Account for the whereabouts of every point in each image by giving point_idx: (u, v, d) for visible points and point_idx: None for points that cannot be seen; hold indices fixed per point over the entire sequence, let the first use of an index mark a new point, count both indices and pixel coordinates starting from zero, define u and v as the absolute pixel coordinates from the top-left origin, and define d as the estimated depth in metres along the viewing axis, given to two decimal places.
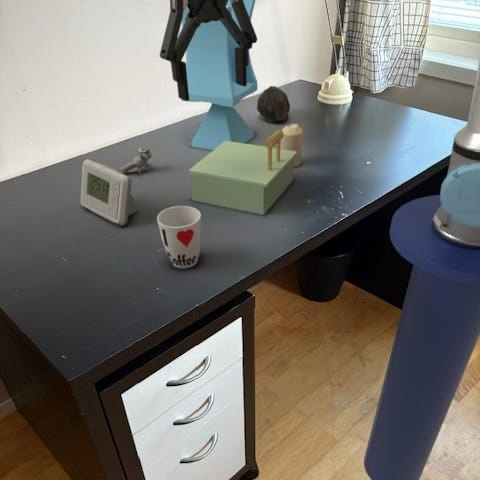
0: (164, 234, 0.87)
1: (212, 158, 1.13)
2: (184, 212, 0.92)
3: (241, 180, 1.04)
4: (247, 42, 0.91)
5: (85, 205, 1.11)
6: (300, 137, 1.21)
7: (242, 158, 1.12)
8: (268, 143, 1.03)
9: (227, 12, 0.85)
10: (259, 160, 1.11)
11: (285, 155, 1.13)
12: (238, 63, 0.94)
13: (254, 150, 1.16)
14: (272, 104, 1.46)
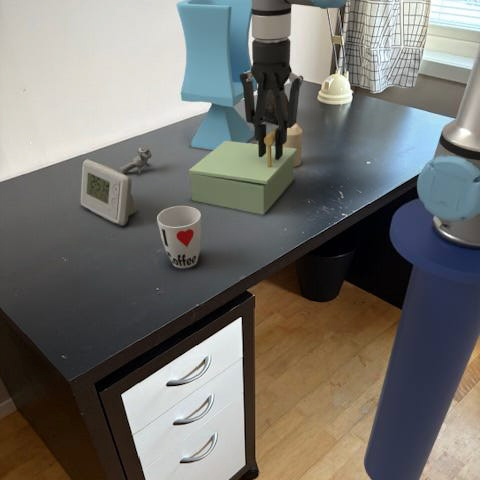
0: (164, 234, 0.87)
1: (212, 158, 1.13)
2: (184, 212, 0.92)
3: (241, 178, 1.04)
4: (282, 125, 1.01)
5: (85, 205, 1.11)
6: (300, 137, 1.21)
7: (242, 157, 1.12)
8: (267, 140, 1.03)
9: (276, 90, 0.96)
10: (259, 158, 1.11)
11: (285, 153, 1.12)
12: None
13: (254, 149, 1.15)
14: (272, 104, 1.46)
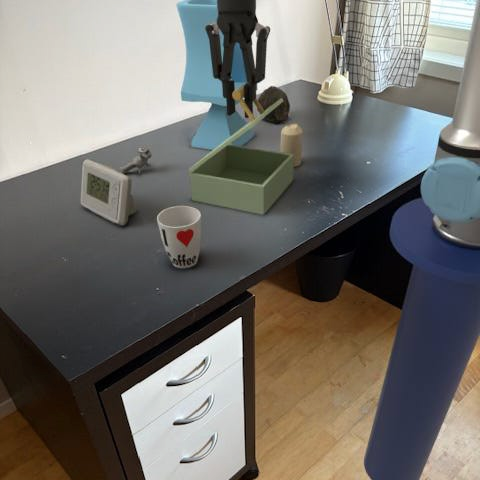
0: (164, 233, 0.87)
1: None
2: (184, 212, 0.92)
3: (227, 141, 1.00)
4: (250, 80, 0.98)
5: (85, 205, 1.11)
6: (300, 137, 1.21)
7: None
8: (235, 95, 0.99)
9: (242, 41, 0.93)
10: (247, 124, 1.07)
11: (270, 106, 1.07)
12: None
13: None
14: (272, 104, 1.46)
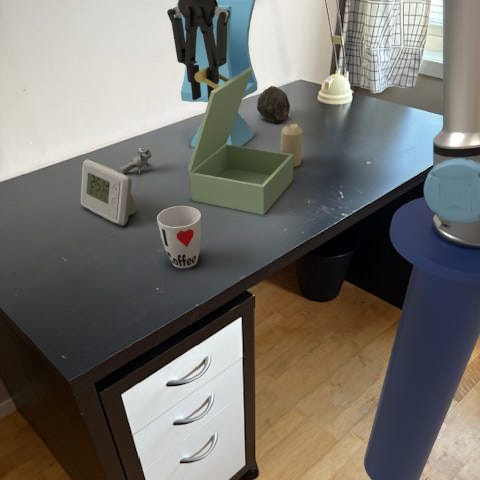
0: (164, 234, 0.87)
1: None
2: (184, 212, 0.92)
3: (204, 119, 0.99)
4: (212, 64, 0.99)
5: (85, 205, 1.11)
6: (300, 137, 1.21)
7: None
8: (197, 77, 1.01)
9: (203, 25, 0.95)
10: None
11: None
12: None
13: None
14: (272, 104, 1.46)
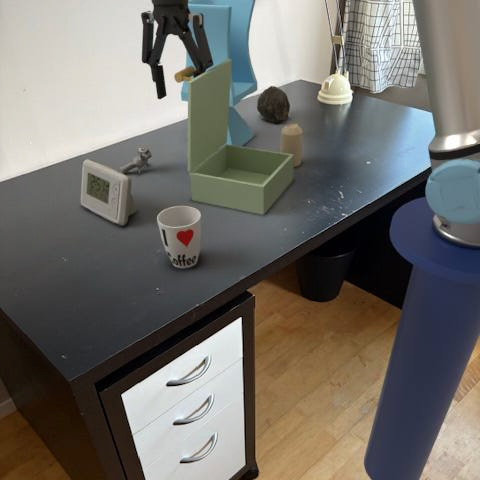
0: (164, 234, 0.87)
1: None
2: (184, 212, 0.92)
3: (188, 112, 1.00)
4: (198, 66, 1.01)
5: (85, 205, 1.11)
6: (300, 137, 1.21)
7: None
8: (177, 78, 1.03)
9: (180, 31, 0.98)
10: None
11: None
12: None
13: None
14: (272, 104, 1.46)
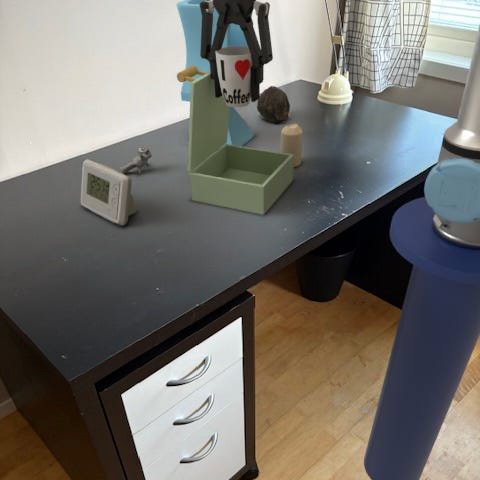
0: (222, 65, 0.94)
1: None
2: (238, 53, 0.98)
3: (190, 113, 0.99)
4: (257, 61, 0.93)
5: (85, 205, 1.11)
6: (300, 137, 1.21)
7: None
8: (179, 77, 1.02)
9: (242, 21, 0.89)
10: None
11: None
12: None
13: None
14: (272, 104, 1.46)
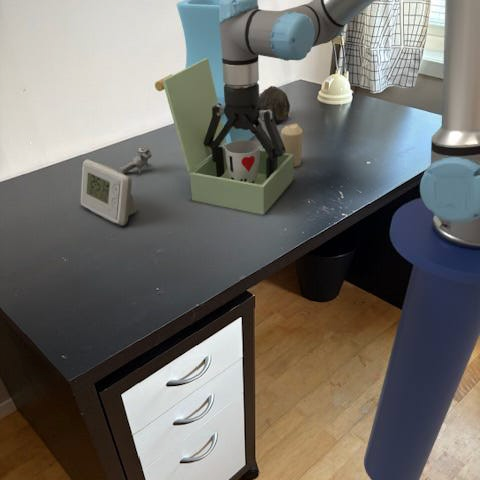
0: (230, 160, 1.09)
1: None
2: (244, 145, 1.13)
3: (171, 111, 1.01)
4: (271, 154, 1.06)
5: (85, 205, 1.11)
6: (300, 137, 1.21)
7: None
8: (157, 86, 1.06)
9: (251, 126, 1.04)
10: None
11: None
12: None
13: None
14: (272, 104, 1.46)
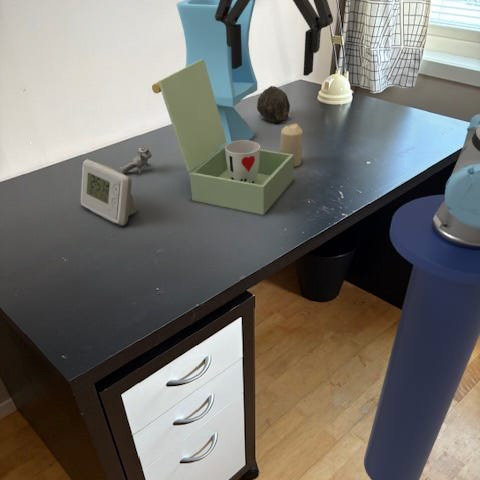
0: (230, 160, 1.09)
1: None
2: (244, 145, 1.13)
3: (168, 111, 1.02)
4: (313, 23, 0.76)
5: (85, 205, 1.11)
6: (300, 137, 1.21)
7: None
8: (155, 89, 1.07)
9: None
10: None
11: None
12: None
13: None
14: (272, 104, 1.46)
